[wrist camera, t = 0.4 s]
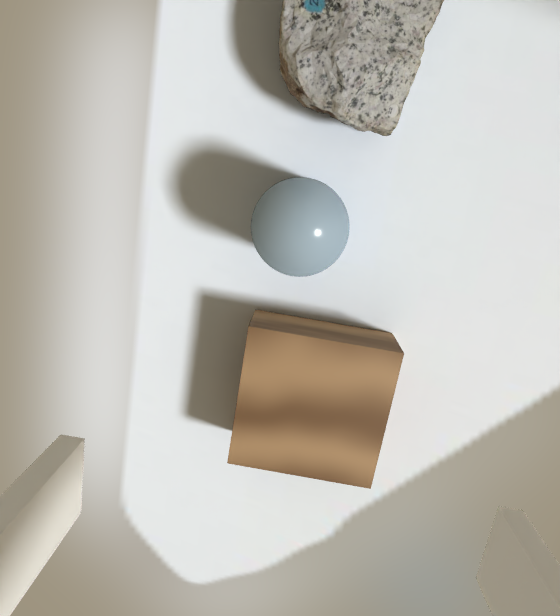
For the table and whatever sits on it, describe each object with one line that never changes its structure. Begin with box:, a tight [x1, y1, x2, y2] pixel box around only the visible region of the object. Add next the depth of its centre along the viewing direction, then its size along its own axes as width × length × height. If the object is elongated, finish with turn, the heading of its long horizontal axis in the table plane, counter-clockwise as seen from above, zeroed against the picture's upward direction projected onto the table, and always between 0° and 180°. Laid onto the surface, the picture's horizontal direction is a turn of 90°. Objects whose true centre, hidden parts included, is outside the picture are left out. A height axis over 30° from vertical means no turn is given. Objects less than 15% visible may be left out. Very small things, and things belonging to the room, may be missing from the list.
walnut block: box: [227, 309, 404, 489], centre depth 37 cm, size 11×11×5 cm
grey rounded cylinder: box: [251, 177, 349, 277], centre depth 32 cm, size 6×6×7 cm
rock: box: [279, 0, 444, 136], centre depth 29 cm, size 13×10×5 cm
